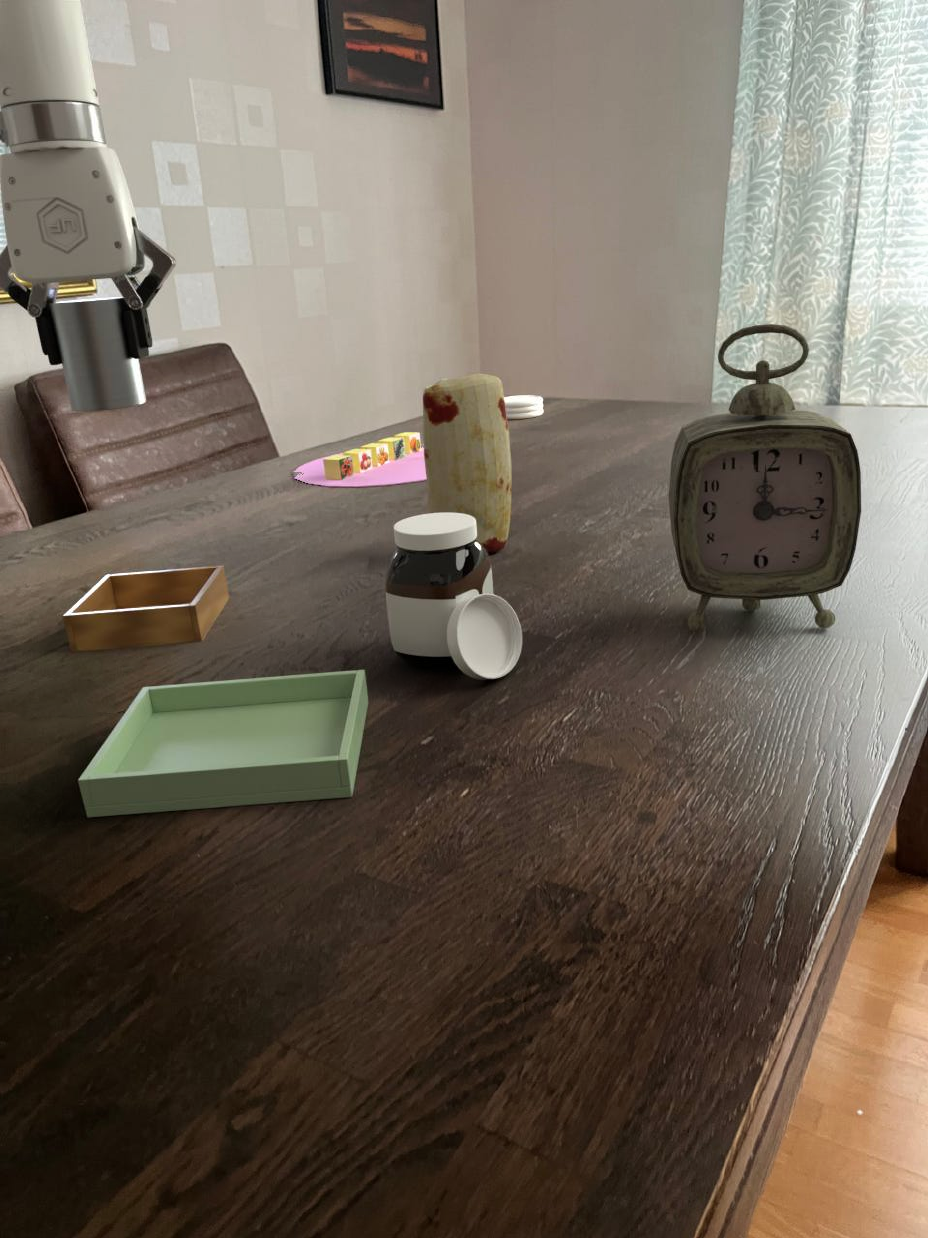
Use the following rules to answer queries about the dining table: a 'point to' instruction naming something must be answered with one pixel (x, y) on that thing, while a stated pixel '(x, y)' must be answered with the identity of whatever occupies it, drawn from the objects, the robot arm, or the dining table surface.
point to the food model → (469, 453)
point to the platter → (370, 464)
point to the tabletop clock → (764, 496)
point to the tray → (231, 745)
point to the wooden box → (147, 609)
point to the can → (97, 354)
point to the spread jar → (448, 599)
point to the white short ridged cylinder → (523, 406)
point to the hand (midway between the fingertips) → (100, 358)
